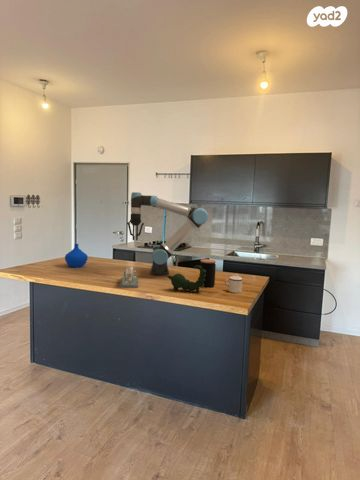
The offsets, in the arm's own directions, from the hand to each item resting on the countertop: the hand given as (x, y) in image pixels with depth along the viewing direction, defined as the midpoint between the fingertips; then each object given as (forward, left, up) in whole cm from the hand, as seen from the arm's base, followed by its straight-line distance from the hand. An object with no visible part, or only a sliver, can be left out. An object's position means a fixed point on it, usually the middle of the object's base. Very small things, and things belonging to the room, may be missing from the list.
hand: (135, 244), depth 249 cm
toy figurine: (-34, +40, -25) cm, 58 cm away
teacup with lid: (-66, +39, -25) cm, 80 cm away
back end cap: (+3, +13, -23) cm, 26 cm away
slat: (+3, +22, -21) cm, 31 cm away
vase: (+49, -35, -25) cm, 65 cm away
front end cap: (+3, +31, -23) cm, 39 cm away
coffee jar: (-51, +26, -25) cm, 62 cm away
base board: (+3, +22, -24) cm, 33 cm away
